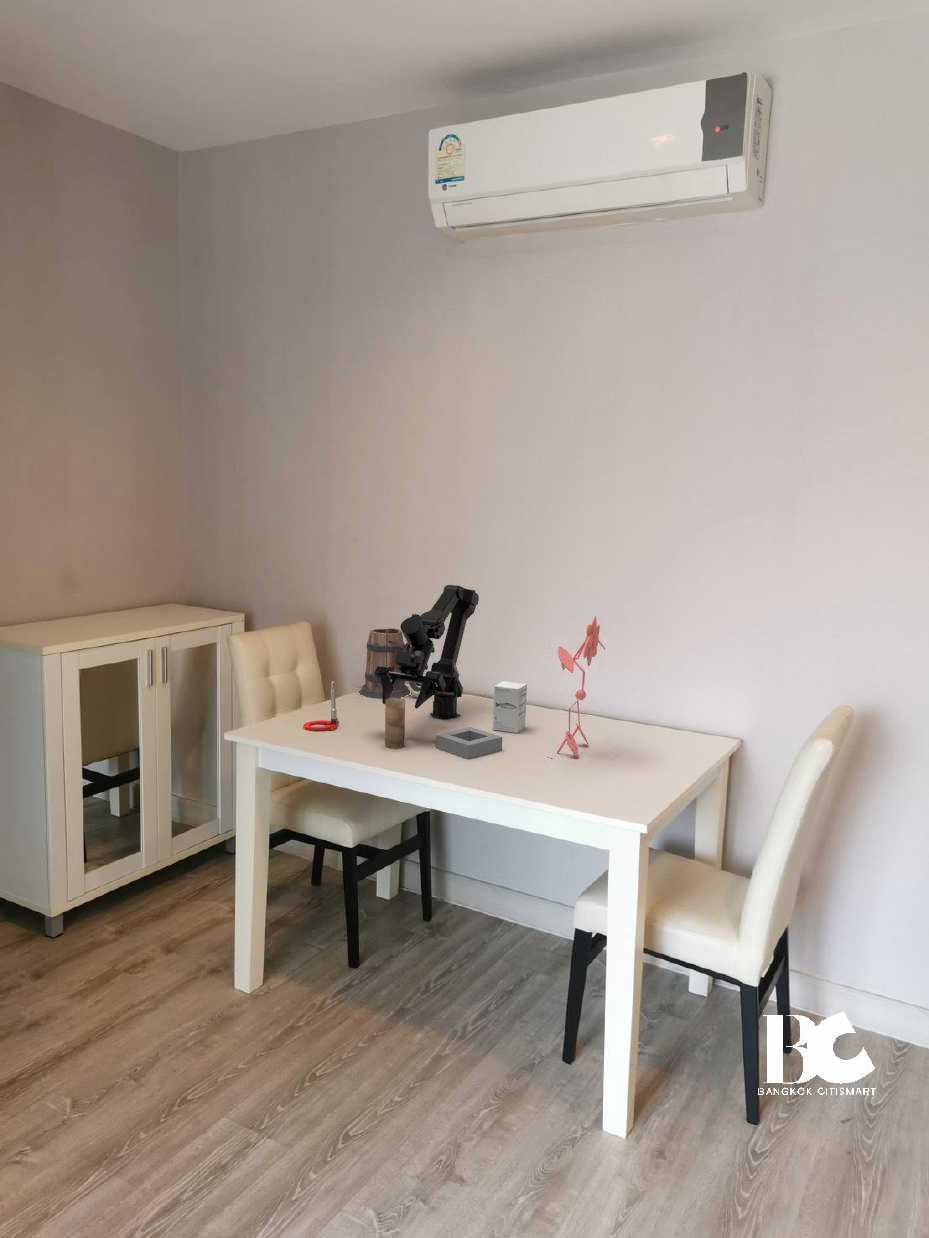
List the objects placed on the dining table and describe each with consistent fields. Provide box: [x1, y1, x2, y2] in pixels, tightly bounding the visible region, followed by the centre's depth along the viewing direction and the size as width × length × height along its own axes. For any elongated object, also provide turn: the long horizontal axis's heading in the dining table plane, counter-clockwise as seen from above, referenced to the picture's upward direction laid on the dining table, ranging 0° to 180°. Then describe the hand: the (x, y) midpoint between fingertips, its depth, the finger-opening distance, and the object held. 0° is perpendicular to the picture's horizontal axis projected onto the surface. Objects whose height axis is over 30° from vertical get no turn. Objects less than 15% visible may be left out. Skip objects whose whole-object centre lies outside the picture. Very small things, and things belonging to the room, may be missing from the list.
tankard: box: [358, 627, 422, 700], centre depth 293 cm, size 24×17×20 cm
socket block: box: [435, 726, 503, 760], centre depth 238 cm, size 12×12×4 cm
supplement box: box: [492, 680, 528, 734], centre depth 257 cm, size 7×7×13 cm
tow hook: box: [302, 681, 340, 732], centre depth 254 cm, size 8×13×9 cm
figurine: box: [546, 615, 606, 760], centre depth 235 cm, size 15×26×35 cm, turn 158°
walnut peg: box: [384, 698, 406, 749], centre depth 239 cm, size 5×5×12 cm
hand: (399, 705), depth 240 cm, fingers open, 9 cm apart
